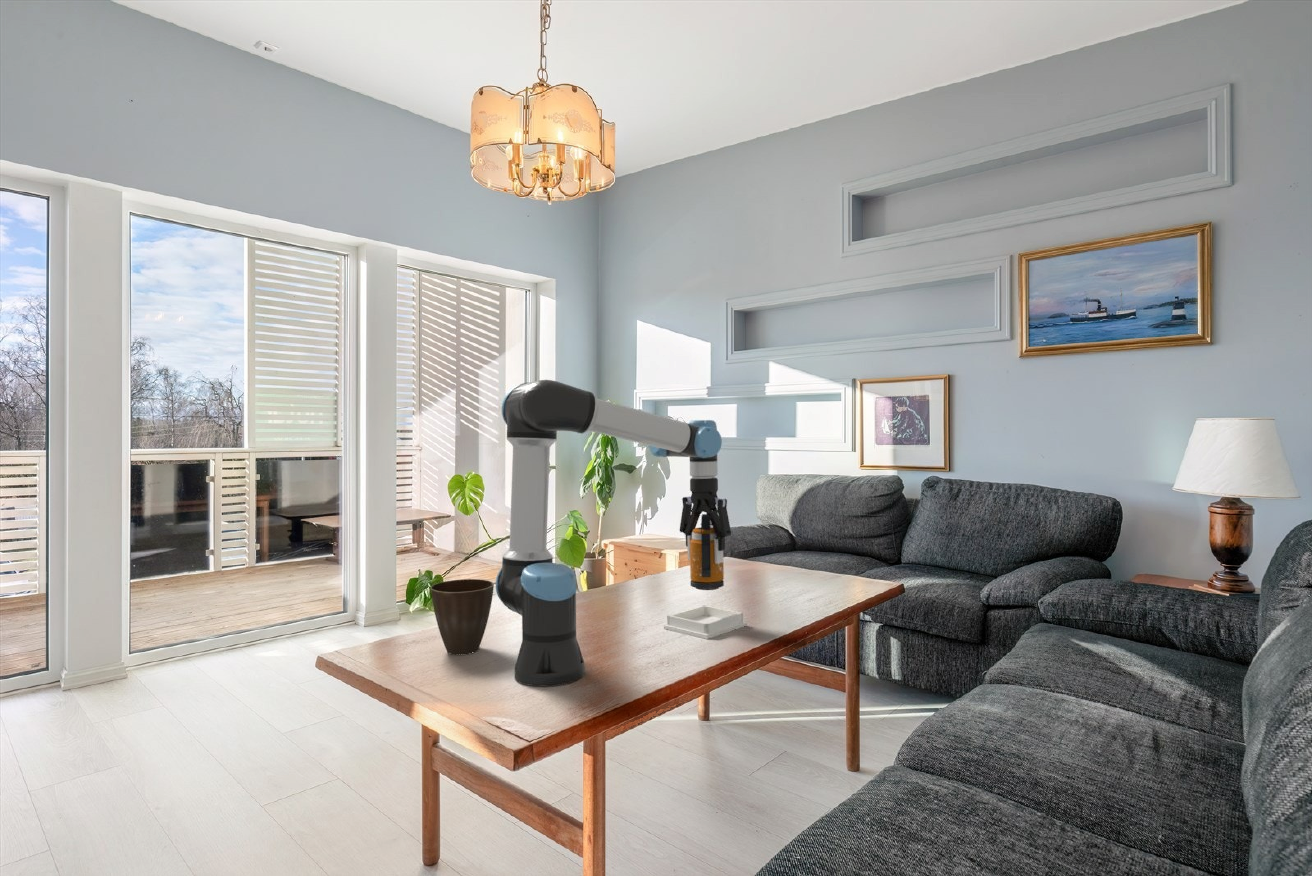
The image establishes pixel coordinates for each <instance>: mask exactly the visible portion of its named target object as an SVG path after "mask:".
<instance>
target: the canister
mask: <svg viewBox="0 0 1312 876" xmlns="http://www.w3.org/2000/svg"><path fill="white" fill-rule="evenodd" d="M700 521H701V523H700V526H701V527H695V529H693V532H692V540H691V541H690V560H689V561H690V562H689V563H690V565H689V567H690V568H689V570H690V573H689V574H690V576H689V577H690V587H692V588H695V589H697V590H700V591H715V590H718V589H719V588H722V587H724V585H725V582H724V573H725V572H724V561H723V562H722V563H718V564H716V563H715V552H714V539H716V537H717V536H716V534H715V531H714V529H713V526H712V523H711V521H710V518H709V516H708V515H707V514H706V513H701V520H700Z"/></svg>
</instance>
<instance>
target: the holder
mask: <svg viewBox="0 0 1312 876" xmlns="http://www.w3.org/2000/svg"><path fill="white" fill-rule="evenodd" d="M666 618H667V623H666V624H663V629H664V630H667V629H668V630H669V631H671V630H672V631H671V632H675V633H679V634H684V635H687V634H688V635H687V636H691V637H696V638H701V639H704V638H705V639H704V640H709V639H712V638H715V637H718V636H721V635H724V634H726V633H731V632H732V630H733V631H735V630H734V629H736V630H739V629H741V627H742V628H744V626H745V627H747V625H748V624H747V623H748V622H747V621H744V612H740V611H736V610H730V609H727V608H726V609H724V608H720V607H714V606H709V605H705V604H704V605H700V606H696V607H693V608H690V609H687V610H683V611H678V612H676V613H671V614H669V615H667V617H666ZM668 630H667V631H668ZM720 634H721V635H720Z"/></svg>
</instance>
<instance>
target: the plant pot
mask: <svg viewBox="0 0 1312 876" xmlns="http://www.w3.org/2000/svg"><path fill="white" fill-rule="evenodd" d="M494 586H495V583H494V582H493V581H491V580H486V579H478V578H477V579H475V578H467V579H466V578H464V579H463V578H462V579H453V580H452V579H451V580H445V581H441V582H437V583H434V584H433V585H431V586H430V592H431V593H430V594H431V600H432V606H433V611H434V617H435V619H436V623H437V628H438V631H439V633H440V636H441V640H442V642H443V646H444V647H445V651H446V652H447V653H448V654H449V653H450V654H449V655H453V654H455V655H454V656H462V655H461V654H466V655H470V654H469V653H471V654H473V653H472V652H474V653H475V652H477V651H478V650H479V649H480V646H481V644H482V642H483V641H482V640H483V637H484V635H485V633H486V632H485V631H486V628H487V625H488V621H489V616H490V612H491V608H492V601H493V595H494ZM456 654H458V655H456ZM459 654H460V655H459Z"/></svg>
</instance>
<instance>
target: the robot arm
mask: <svg viewBox="0 0 1312 876" xmlns="http://www.w3.org/2000/svg"><path fill="white" fill-rule="evenodd" d="M501 404H502V405H501V415H502V420H503V421H504V423H505V425H506V440H507V442H509V443H510V444H511V447H512V463H511V493H510V495H511V496H510V498H511V499H510V518H509V519H510V522H509V523H510V525H509V526H510V527H509V548H508V550H506V552H505V553H503V555H502V562H501V569H499V571H498V572H497V575H496V579H495V590H496V591H495V592H496V594H497V597H498V599H499V600H500V601H501V603H502V604H503V606H505V607H506V608H507V609H508V610H510V611H512V612H514V613H516V614H518V615H520V616H521V624H522V625H521V626H522V627H521V630H522V633H521V635H522V636H521V637H522V638H521V639H522V640H521V645H520V647H519V650H518V651H519V652H518V655H517V658H516V662H515V664H514V679H515V681H517V682H519V684H522V685H526V686H531V687H532V686H533V687H553V686H561V685H566V684H570V683H573V682H576V681H578V680H580V679H581V678H583V677H584V675H585V673H586V672H585V671H586V666H585V665H586V664H585V660H584V658H583V654H582V651H581V648H580V645H579V643H578V639H577V589H578V587H577V583H576V582H577V581H576V574H575V571H574V570H573V569H572V567H570V566H568V565H565V564H563V563H562V564H561V563H555V562H553V560H554V559H553V557H554V556H553V554H552V553H551V552H550V551H549V550H548V548H547V540H548V512H549V510H548V509H549V507H548V506H549V487H550V486H549V485H550V484H549V483H550V481H549V480H550V478H549V477H550V456H551V455H550V454H551V453H550V452H551V450H550V449H551V447H552V445H554V444H555V443H556V442H557V437H558V436H557V435H558V432H559V431H560V432H564V431H565V432H573V433H577V434H581V435H583V434H585V433H587V432H592V433H596V434H601V435H605V436H607V437H608V436H609V437H613V438H616V439H621V440H625V441H629V442H634V443H638V444H643V445H645V446H648V448H649V451H650V453H651V454H652V455H653V457H656V458H657V457H661V458H667V457H668V458H669V457H678V458H679V457H680V458H684V457H685V458H689V476H690V477H691V478H690V479H689V490H690V492H691V495H690V496H683V497H682V499H681V500H682V511H681V518H680V523H679V532H680V533H683V534H684V535H685V546H686V548H687V560H688V561H690V541H691V540H692V532H693V529H695V528H697V527H696V526H697V524H698V521H699V519H700V516H701V515H702V514H703V512H704V513H705V514H707V515H708V516H709V518H710V521H711V523H712V526H711V527H713V529H714V531H715V534H716V536H717V537H716V539H714V552H715V563H716V564H718V563H722V562H723V563H724V551H726V550H725V549H726V538H727V537H728V538H729V537H731V536H732V531H731V525H730V519H729V515H728V509H727V507H728V499H726V498H718V495H717V494H718V493H717V492H718V491H719V479H718V477H717V476H718V474H719V473H718V471H719V469H718V454H719V452H720V450H721V448H722V445H723V443H722V442H723V439H722V435H721V433H720V432H719V430H718V428H717V423H716V421H715V420H714V419H713V420H712V419H707V420H706V419H703V420H702V419H700V420H699V419H696V420H690V421H689V423H688V422H687V423H686V422H684V421H680V420H676V419H673V418H669V417H665V416H662V415H658V414H654V413H653V412H652V413H651V412H647V411H644V410H640V409H637V408H633V407H629V406H626V405H621V404H618V403H615V402H612V401H611V402H610V401H608V400H603V399H600V398H597V396H596V394H595V393H594V392H592V391H588V390H584V389H581V388H578V387H575V386H572V385H569V384H566V383H563V382H560V381H557V380H552V379H541V380H540V379H539V380H536V381H530V382H523V383H520V384H517V385H516V386H514V387H513V388H512V389H510V390H509V391H508V392H507V393H506V395H505V397H504V398H503V400H502V403H501Z"/></svg>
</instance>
